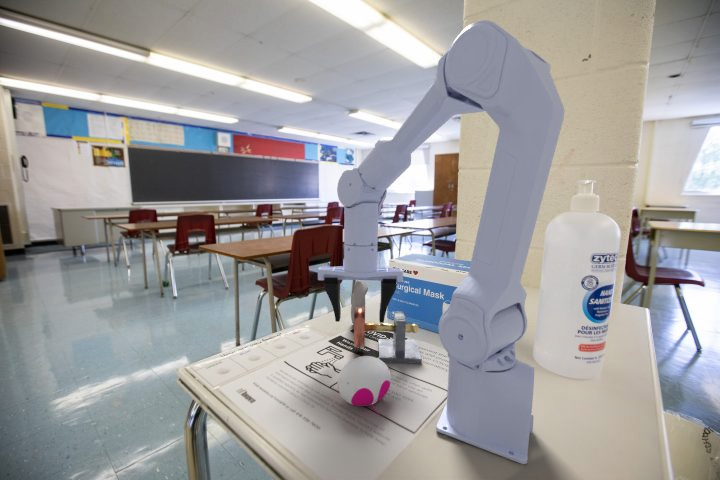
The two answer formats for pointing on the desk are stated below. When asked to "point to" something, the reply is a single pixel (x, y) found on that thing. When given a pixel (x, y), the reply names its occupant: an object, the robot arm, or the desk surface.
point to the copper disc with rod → (373, 327)
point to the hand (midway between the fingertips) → (359, 319)
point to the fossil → (358, 297)
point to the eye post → (399, 344)
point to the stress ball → (364, 381)
